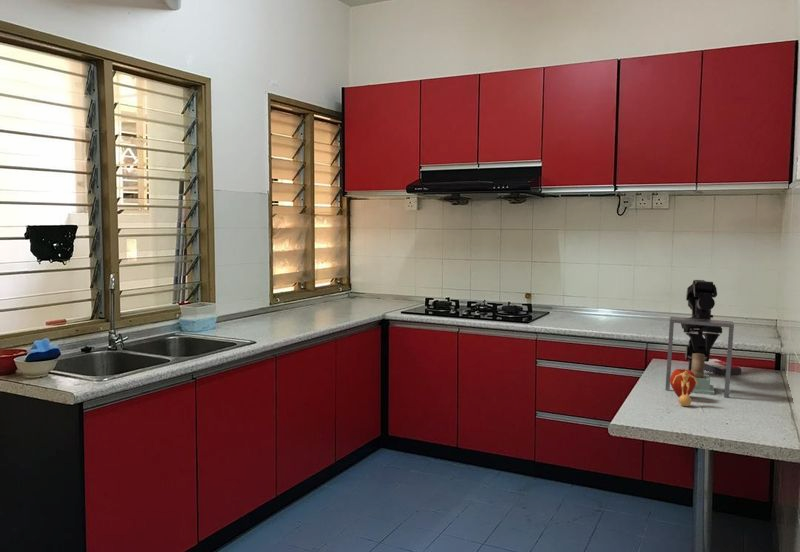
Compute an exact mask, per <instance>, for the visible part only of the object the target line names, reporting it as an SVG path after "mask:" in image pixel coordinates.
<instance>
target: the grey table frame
mask: <svg viewBox="0 0 800 552" xmlns="http://www.w3.org/2000/svg"><path fill="white" fill-rule="evenodd" d="M681 323H682V324H695V325H707V326H719V327H721V328H728V338H727V349H726V350H727V351H726V352H727V353H726V362H727V364H726V375H725V380H724V395H723V397H724V398H725V399H726V398H727V399H730V397H729V396H730V385H731V375H730V372H731V364H732V358H733V355H732V354H733V344H734V341H733V340H734V329H735V328H734V327H735V324H734V322H733V321H731V320H719V319H718V320H717V319H711V320H708V319H695V318H690V317H682V316H681V317H680V316H670V318H669V329H668V342H667V343H668V346H667V360H666V376H665V377H666V378H665V391H668V390H669V391H670V388H671V387H670V385H671V384H670V377H671V375H672V371H671V370H672V360H673V359H672V357H673V355H672V354H673V342H674V341H673V340H674V327H675V326H674V325H675V324H681Z"/></svg>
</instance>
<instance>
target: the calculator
mask: <svg viewBox="0 0 800 552" xmlns="http://www.w3.org/2000/svg"><path fill="white" fill-rule="evenodd" d="M726 364H727V361H725V360H719V359H718V358H709V361H708V362H706V361H705V362H704V371H705V370H706V371H705V372H708V371H709V372H708V373H711V372H713V373H712V374H714V373H715V374H714V375H717V374H718V376H721V375H722V376H726ZM739 374H741V375H742V367H740V366H737V365H735V364H732V363H731V372H730V376H738V375H739Z"/></svg>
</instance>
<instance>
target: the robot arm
mask: <svg viewBox="0 0 800 552" xmlns="http://www.w3.org/2000/svg"><path fill="white" fill-rule="evenodd" d="M717 289H718V288H717V286H716V284H714V282H713V281H708V280H707V281H706V280H704V279H694V280H692V284H690V285H689V286H688V287H687V289H686V295H685V299H686V301H687V307H688V308H690V310H691V317H689V318H695V319H708V320H712V319H713V318H714V314H712V309H713V308H714V307H715V305H716V301H715V298H716V297H717V296H718V290H717ZM680 325H681V326H680V327H681V328H682V330H683V333H685V336H686V335H687V336H688V337H689V340H688V345H686V348H685V355H684V356H685V357H684V358H685V360H687V361H688V366H687V370H689V371H691V366H692V354H693V353H700V354H704V355H705V361H706V362H708V361H709V359H710V357H711V350H712V348H713V346H714V345H715V342H716V341H717V339H718V338H719V337H720V336H721V334H723V327H719V326H707V325H695V324H682V323H680ZM704 375H706V374H705V373H704Z"/></svg>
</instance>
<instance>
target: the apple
mask: <svg viewBox="0 0 800 552" xmlns="http://www.w3.org/2000/svg"><path fill="white" fill-rule="evenodd" d="M685 371H687V372H688V374H690V375H692V376H694V377H695V375H694V373H693V372H692V371H689V370H688V369H685V368H682V369H681V368H679V369H677V368H676V369H674V370H673V371H672V372H671V375H670V385H671V388H672V390H673V392H674V393H675V395H676V396H677V397H678V398H679V397H680V396H681V395H682V386H681V381H683V377H682V376H678V377H676V379H675V381H674V384H672V383H673V380H674V378H675V376H676V375H679V374H681V373H683V372H685ZM688 381H689V382H690V383H689V386H690V387H689V390H688V396H689V397H690V394H692V393H693V392H692V391H693V389H694V387H695V384H696V381H695V379H694V378H692V377H689V378H688ZM688 381H687V382H688ZM683 388H684V390H683V391H684V395H686V392H687V389H688V388H687V386H686V384H685V386H684V387H683Z"/></svg>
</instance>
